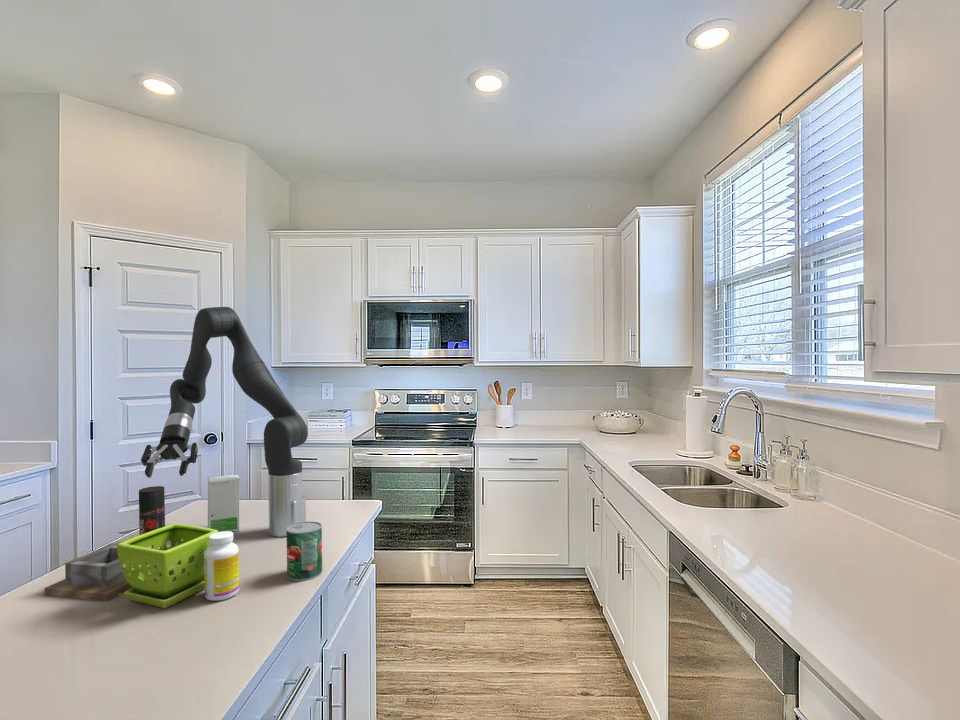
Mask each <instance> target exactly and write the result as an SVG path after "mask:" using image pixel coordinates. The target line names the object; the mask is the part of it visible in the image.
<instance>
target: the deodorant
mask: <svg viewBox="0 0 960 720" xmlns="http://www.w3.org/2000/svg"><path fill="white" fill-rule="evenodd" d="M165 500H166V499H165V486H161V485H155V486H148V487H144V488H143V487H142V488H141V489H139V490H138V521H139V525H138V526H139V529H138V530H139V534H138V536H139V535H142V534H145V533H148V532H150V531H153V530H156V529H159V528H162V527H165V526H166V507H165V505H166V503H165Z"/></svg>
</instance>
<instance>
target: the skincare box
mask: <svg viewBox="0 0 960 720" xmlns="http://www.w3.org/2000/svg"><path fill="white" fill-rule="evenodd" d="M207 484H208V485H207V488H208V489H207V528H210V529H214V530H217V531H218V532H223V531H230V532H232V531H235V532H240V492H241V491H240V476H239V474H230V475H220V476H209V477H207Z"/></svg>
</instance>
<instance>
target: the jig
mask: <svg viewBox="0 0 960 720" xmlns="http://www.w3.org/2000/svg"><path fill="white" fill-rule="evenodd" d="M117 545H118V544H117ZM117 545H116V544H110V545H108V546H105V547H103V548H100V549H97V550H94V551H92V552H89V553H87V554H85V555H82V556H80V557H78V558H76V559H73V560H69V561H68V562H65V563H64V564H65V565H64V566H65V568H64V570H65V575H64V576H65V579H62V580H60V581H58V582H55V583H52V584H50V585H49V586H46V587H44V596H52V597H59V598H60V597H61V598H62V597H63V598H72V599H79V598H80V600H89V601H90V600H91V601H100V602H108V601H110V600H111V599H113V598H116V597H117V596H120V595H121V594H124V592H125V591H127V590H129V589H131V588H132V587H131V586H130V584H129V583H128V581H127V580H126V578H125V576H124V574H123V572H122V569H121V566H120V563H119V558H118V552H117ZM166 546H167V548H169V547H170V546H171V544H170V545H169V544H168V545H167V544H166ZM147 548H151V549H152V547H151V546H149V547H147ZM158 550H160V547H159V548H158ZM139 564H140V563H139Z"/></svg>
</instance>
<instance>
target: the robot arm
mask: <svg viewBox="0 0 960 720" xmlns="http://www.w3.org/2000/svg"><path fill="white" fill-rule="evenodd" d="M191 337H192V338H191V344H190V350H189V355H188V358H187V361H186V362H185V363H186V364H185V366H184V369H183V371H182V378H178V379H176V380H174V381H173V382H172V383H171V385H170V388H169V397H170V409H169V413H168V416H167V419H166V420H165V423H164V426H163V428H162V432H161V435H160V439H159V443H158V445H156V446H151V444H147V445H145V449H144V451H143V454H142V456H141V458H140V462H141V464H142V466H143V467H145V470H144V474H145V476H146V477H147V478H152V475H153V472H154V469H155V466H156V465H158V464H159V463H161V462H163V461H164V460H165V461H168V460H177V459H179V460H180V461H181V463H180V466H179V470H178V471H179V472H178V474H179V476H181V477H183V476H184V474H187V470H188V467H189V465H190V464H196V463H197V459H198V452H199V447H198V444H197V442H192V443H191V444H189V440H190V436H191V433H192V430H193V422H194V418H195V413H196V406H195V404H196V405H197V404H200V403H201V402H203V401H204V399H205V397H206V394H207V393H206V392H207V391H206V390H207V388H206V382H207V378H208V375H209V373H210V370H211V368H212V363H213V360H212V356H211V354H210V351H209V350H208V347H207V345H208V342H209V341H210V340H211V339H214V338H221V337H227V338H228V340H229V341H230V343H231V345H232V347H233V350H234V351H233V359H232V365H231V366H232V367H231V370H232V375H233V377H234V379H235V381H236V383H237V384H238V385H239V387H240V389H241V390H242V392H243V393H244V394H245V395H246V396H247V397H249V398H250V399H252V400H253V401H254V402H256V403H257V404H258V405H260V406H261V407H263V408H264V409H265V410H266V411H267V412H268V413H270V415H271V416H272V417H273V418H272V419H271V420H268V422H267V423H266V425H265V427H264V430H263V445H264V460H265V464H266V467H267V470H268V472H267V476H268V481H267V483H268V534H269V535H270V536H271V537H272V536H273V537H278V538H279V537H280V538H281V537H286V535H287V533H286V528H287V527H288V526H290V525H292V524H295V523H299V522H307V509H306V508H307V505H306V504H307V501H306V500H307V499H306V496H303V462H302V461H301V460H299V459H295V458H294V457H293V455H292V449H293V448H295V447H298V446H299V447H300V446H301V445H303V444H305V442H306V441H307V439H308V436H309V431H308V426H307V424H306V421H305V420H304V419H303V417H302V416H301V415H300V413H298V411H297V410H296V409H295V407H294V406H293V404H291V402H290V401H289V399H287V397H286V396H285V394H284V392H283V391H282V389H281V388H280V386H279V385H278V383H277V381H276V380H275V379H274V377H273V375H272V373H271V372H270V370H269V369H268V367H267V365H266V363H265V362H264V361H263V359H262V358H261V356H260V355H259V353H258V351H257V350H256V348H255V346H254V344H253V343H252V342H251V339H250V338H249V337H250V336H248V333H247V331H246V329H245V327H244V325H243V323H242V321H241V319H240V317H239V315H238V314H237V313H236V311H235V310H234V309H233V308H231V307H230V306H216V307H215V306H214V307H204V308H201V309H199V311H198V312H197V313H196V316H195V319H194V323H193V329H192V335H191ZM188 450H189V451H190V455H189V457H187V456H186V455H185V453H186V452H187V451H188Z"/></svg>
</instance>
